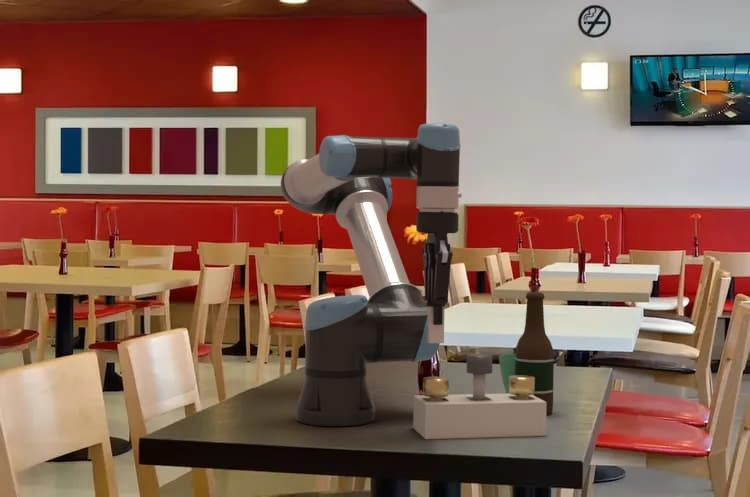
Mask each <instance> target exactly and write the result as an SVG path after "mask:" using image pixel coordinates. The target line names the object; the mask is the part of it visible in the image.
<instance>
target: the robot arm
mask: <svg viewBox="0 0 750 497" xmlns="http://www.w3.org/2000/svg"><path fill="white" fill-rule="evenodd" d="M460 152H461V141H460V129H459V127H458V126H457V125H456V124H451V123H423V124H420V125H419V127H418V129H417V135H416V137H414V138H413V137H411V138H410V137H389V136H388V137H385V136H384V137H383V136H381V137H379V136H355V135H354V136H353V135H352V136H351V135H346V134H339V135H328V136H325V137H324V138H323V139H322V141H321V144H320V147H319V152H318V154H316V155H313V157H311V158H309V159H308V158H307V159H305V158H304V159H303V158H302V159H299V160H296V161H295V162H293V163H291V164H290V165H289V166H287V167H286V169H285V170H284V171H283V173H282V175H281V178H280V191H281V194H282V195H283V198H284V199H285V200H286V202H287V203H288V204H290V206H292V207H293V208H295V209H296V210H299V211H301V212H304V213H307V214H312V215H334V216H335V219H336V221H337V223H338V224H339V226H340V227H341V228H343V229H345V230H347V233H348V235H349V236H348V237H349V238H350V243H351V245H352V248H353V249H352V250H353V251H354V254H355V257H356V259H357V260H356V261H357V264H358V266H359V269H360V273H361V275H362V278H363V281H364V284H365V287H366V288H365V289H366V292H367V294H368V296H369V297H368V298H367V296H366V295H362V294H351V295H339V296H331V297H326V298H321V299H317V300H315V301H312V302H311V303H309V305H308V306H307V308H306V313H305V325H304V331H305V362H304V364H305V373H304V374H305V375H304V377H305V378H304V382H303V386H302V388H301V391H300V394H299V397H298V400H297V404H296V406H295V420H296V421H297V422H299V423H302V424H306V425H312V426H322V427H349V426H350V427H351V426H361V425H366V424H370V423H372V422H374V421H375V420H376V406H375V404H374V400H373V397H372V393H371V389H370V386H369V383H368V380H367V364H377V363H381V364H382V363H401V362H402V363H403V362H405V363H406V362H409V363H410V362H411V363H416V362H421V361H422V362H423V361H428V360H431V359H433V358H434V357H435V355H436V354H437V352H438V350H439V347H440V344H444V343H445V307H446V305H447V304H448V302H449V291H450V277H451V266H452V259H453V251H452V250H451V244H450V243H449V241H448V239H449V238H448V234H457V233H458V232H459V219H460V218H459V216H460V215H459V213H458V212H456V210H458V208H459V202H460V201H459V200H460V198H462V195H463V194H462V192H460V190H459V188H460V187H459V186H460V183H459V182H460V156H461V153H460ZM391 179H405V180H416V202H415V203H416V204H415V205H416V208H417V209H418V210H419V211H418V212H417V213H416V223H415V224H416V227H415V228H416V232H417V233H421V234H427V236H426V237H427V238H426V243H424V244H423V248H422V250H421V251H422V252H421V253H422V257H423V275H424V278H423V279H424V296H423V294H422V292H421V289H420V288H418V287H417V286H416V285H414V284H412V283H411V282H410V280H409V278H408V275H407V273H406V270H405V267H404V265H403V262H402V259H401V256H400V254H399V250H398V248H397V245H396V242H395V240H394V238H393V235H392V231H391V229H390V226H389V224H388V220H387V218H386V216H387V213H388V211H389V210H390V207H391V206H392V201H393V189H392V187H391V186H392V182H391Z"/></svg>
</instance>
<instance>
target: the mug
mask: <svg viewBox="0 0 750 497" xmlns="http://www.w3.org/2000/svg"><path fill="white" fill-rule="evenodd" d="M498 362H499V368H500V373H501V374H500V375H501V378H502V382H503V386H504V390H505V394H509V376H513V375H515V353H508V354H501V355H499V356H498Z"/></svg>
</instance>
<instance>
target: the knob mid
mask: <svg viewBox="0 0 750 497" xmlns="http://www.w3.org/2000/svg"><path fill="white" fill-rule="evenodd" d="M466 373H468V374H472V375H473V377H472V394H473V400H475V401H484V400H485V394H486V375H489V374H492V373H493V355H491V354H486V353H483V354H482V353H471V354H467V355H466Z"/></svg>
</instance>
